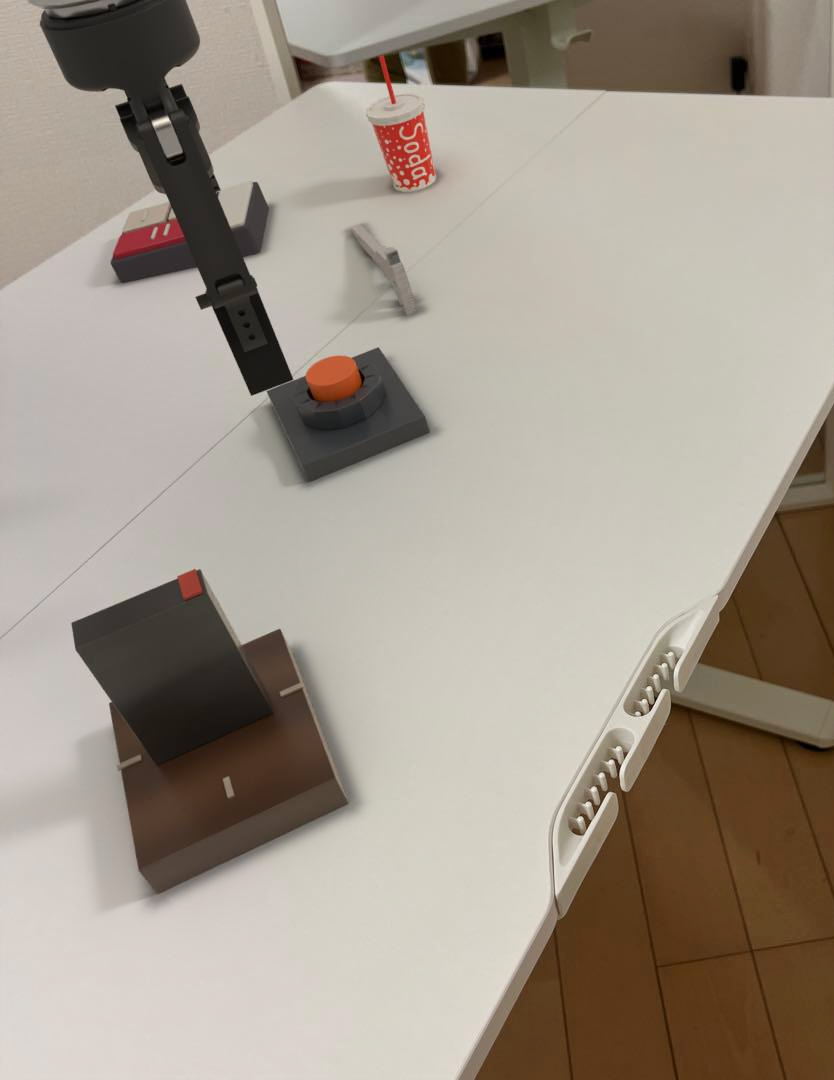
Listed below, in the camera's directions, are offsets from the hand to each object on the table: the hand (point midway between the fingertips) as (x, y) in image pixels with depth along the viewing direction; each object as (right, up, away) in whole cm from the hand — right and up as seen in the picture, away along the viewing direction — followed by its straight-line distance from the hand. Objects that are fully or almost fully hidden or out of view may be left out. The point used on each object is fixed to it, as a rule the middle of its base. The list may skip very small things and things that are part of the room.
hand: (250, 336), depth 72 cm
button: (+3, -1, +15) cm, 15 cm away
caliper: (+4, +12, +35) cm, 37 cm away
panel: (+1, -27, -7) cm, 28 cm away
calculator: (-18, +18, +47) cm, 53 cm away
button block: (+4, -4, +17) cm, 18 cm away
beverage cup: (+6, +25, +48) cm, 55 cm away
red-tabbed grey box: (0, -24, -8) cm, 25 cm away
